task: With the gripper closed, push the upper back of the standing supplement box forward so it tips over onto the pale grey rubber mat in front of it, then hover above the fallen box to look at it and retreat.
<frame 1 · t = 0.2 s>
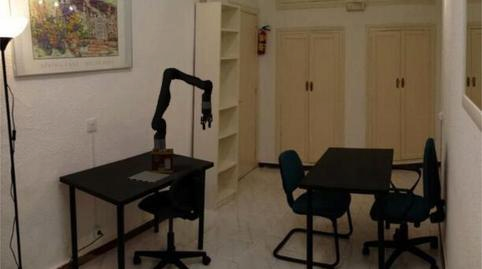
hand: (206, 128, 356), 29 cm above the table, tool pointing down, fingers open, 8 cm apart
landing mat: (149, 177, 336), on the table
supplement box: (162, 171, 349), on the table, touching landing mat
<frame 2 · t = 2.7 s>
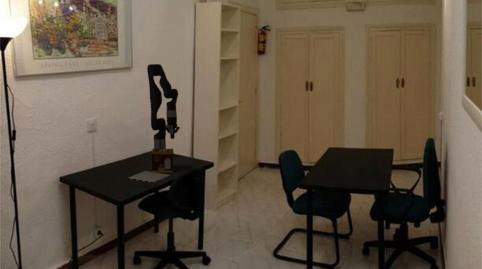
hand: (172, 138, 356), 22 cm above the table, tool pointing down, fingers closed
nothing on the table moved.
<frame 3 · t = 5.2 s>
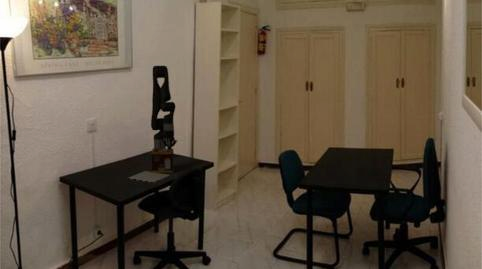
hand: (169, 152, 354), 13 cm above the table, tool pointing down, fingers closed
supplement box: (162, 171, 349), on the table, touching gripper, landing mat
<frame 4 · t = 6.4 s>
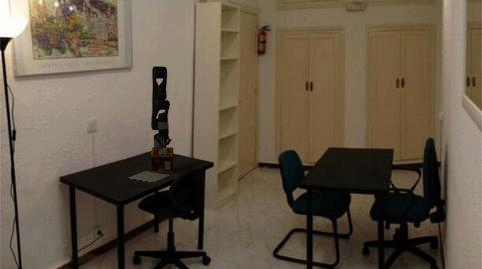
hand: (164, 150, 348), 15 cm above the table, tool pointing down, fingers closed
supplement box: (162, 169, 349), point 2 cm above the table, touching gripper, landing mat
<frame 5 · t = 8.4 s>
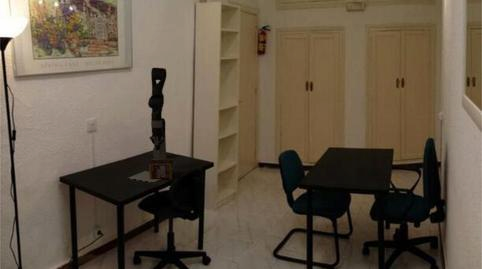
hand: (157, 150, 342), 17 cm above the table, tool pointing down, fingers closed
supplement box: (162, 165, 344), point 6 cm above the table, touching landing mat
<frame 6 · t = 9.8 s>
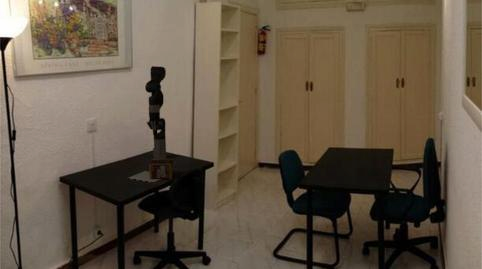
hand: (155, 135, 337), 28 cm above the table, tool pointing down, fingers closed
nothing on the table moved.
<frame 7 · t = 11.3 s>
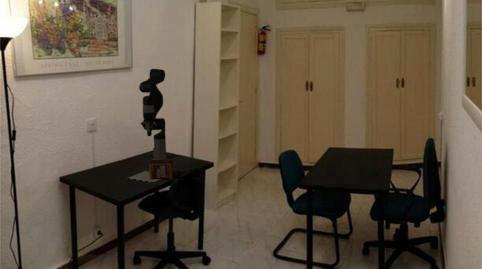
hand: (149, 136, 332), 29 cm above the table, tool pointing down, fingers closed
nothing on the table moved.
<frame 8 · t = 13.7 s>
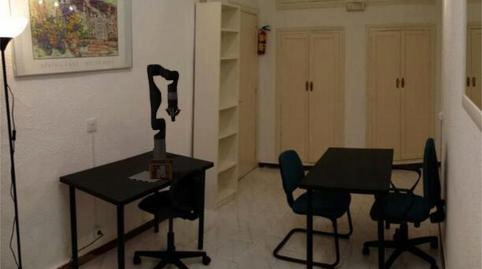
hand: (173, 121, 352), 35 cm above the table, tool pointing down, fingers closed
nothing on the table moved.
at the end: supplement box tilted 90°; supplement box inside the target area (8.3 cm from its centre), point 5.5 cm above the table; supplement box touching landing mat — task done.
